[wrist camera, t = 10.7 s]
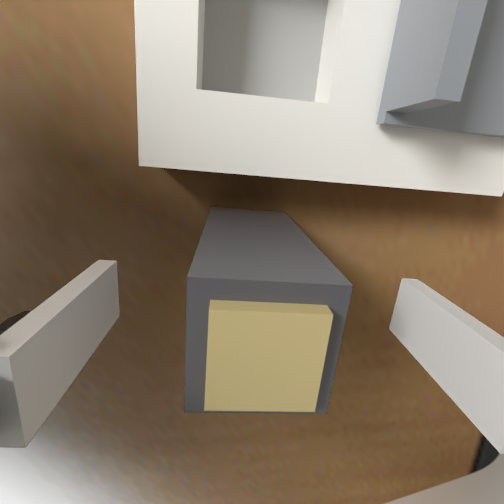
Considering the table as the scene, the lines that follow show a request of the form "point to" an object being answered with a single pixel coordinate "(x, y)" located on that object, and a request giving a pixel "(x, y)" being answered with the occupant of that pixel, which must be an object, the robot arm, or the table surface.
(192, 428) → the table surface
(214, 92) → the socket
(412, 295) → the robot arm
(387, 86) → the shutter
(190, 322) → the plug
